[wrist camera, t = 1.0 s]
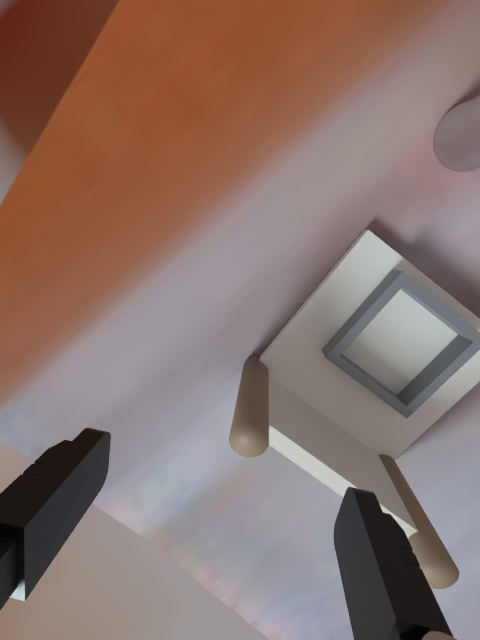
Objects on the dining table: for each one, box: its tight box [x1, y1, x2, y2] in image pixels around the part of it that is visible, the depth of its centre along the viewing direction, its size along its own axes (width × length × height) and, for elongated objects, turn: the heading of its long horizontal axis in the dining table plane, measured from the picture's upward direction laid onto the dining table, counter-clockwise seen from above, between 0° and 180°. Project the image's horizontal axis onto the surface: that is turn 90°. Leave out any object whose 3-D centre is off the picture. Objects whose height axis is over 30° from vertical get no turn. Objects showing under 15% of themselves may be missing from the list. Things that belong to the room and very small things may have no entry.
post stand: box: [229, 230, 480, 589], centre depth 28 cm, size 21×22×14 cm
